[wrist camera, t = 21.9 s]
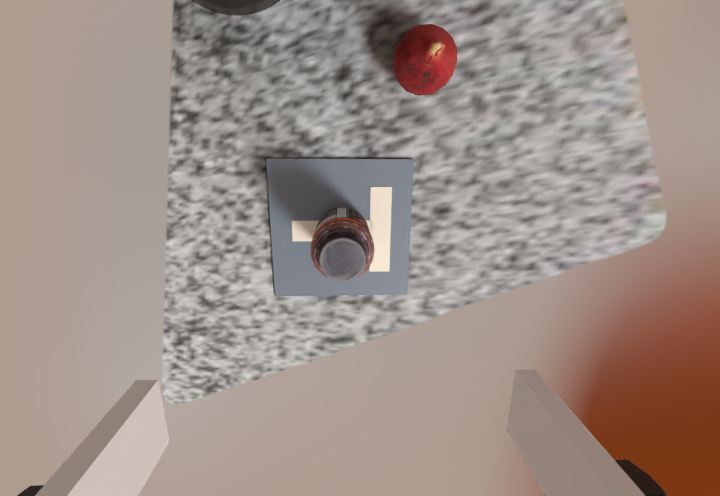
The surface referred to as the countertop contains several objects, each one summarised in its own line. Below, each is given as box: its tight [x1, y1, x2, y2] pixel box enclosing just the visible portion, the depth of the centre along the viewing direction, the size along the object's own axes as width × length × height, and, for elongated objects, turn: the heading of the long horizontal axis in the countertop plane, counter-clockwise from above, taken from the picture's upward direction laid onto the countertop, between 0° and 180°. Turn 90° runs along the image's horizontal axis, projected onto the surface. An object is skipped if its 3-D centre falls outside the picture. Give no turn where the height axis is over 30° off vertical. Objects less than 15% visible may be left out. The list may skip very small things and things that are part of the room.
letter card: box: [266, 159, 414, 296], centre depth 40 cm, size 16×16×1 cm
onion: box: [394, 24, 457, 95], centre depth 33 cm, size 6×6×8 cm
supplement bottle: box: [311, 207, 374, 282], centre depth 35 cm, size 6×6×11 cm
